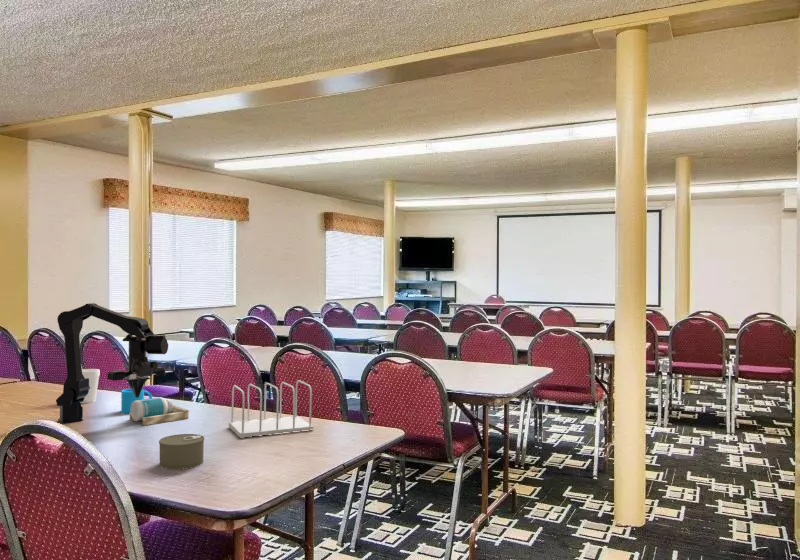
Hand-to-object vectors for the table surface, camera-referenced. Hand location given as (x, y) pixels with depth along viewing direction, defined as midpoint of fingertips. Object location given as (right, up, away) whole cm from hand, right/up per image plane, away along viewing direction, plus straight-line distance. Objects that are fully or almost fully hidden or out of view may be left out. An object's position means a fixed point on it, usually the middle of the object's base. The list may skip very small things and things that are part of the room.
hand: (136, 397), depth 225 cm
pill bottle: (-1, -5, 0) cm, 5 cm away
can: (+33, -10, -49) cm, 60 cm away
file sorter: (+50, -10, -8) cm, 51 cm away
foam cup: (-36, -9, +37) cm, 53 cm away
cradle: (+5, -9, +5) cm, 12 cm away
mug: (-9, -9, +21) cm, 25 cm away
